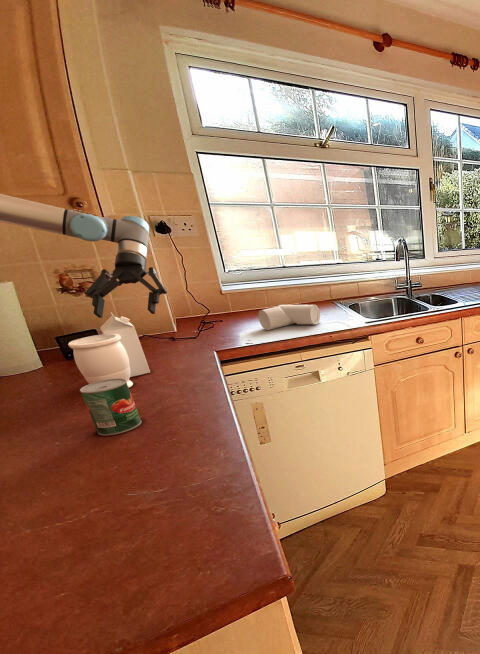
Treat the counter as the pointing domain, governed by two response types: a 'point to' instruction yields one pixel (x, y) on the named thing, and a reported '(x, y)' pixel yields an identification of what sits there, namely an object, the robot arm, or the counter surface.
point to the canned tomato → (111, 406)
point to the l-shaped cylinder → (288, 315)
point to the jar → (101, 358)
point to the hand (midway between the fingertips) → (125, 313)
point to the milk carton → (128, 343)
